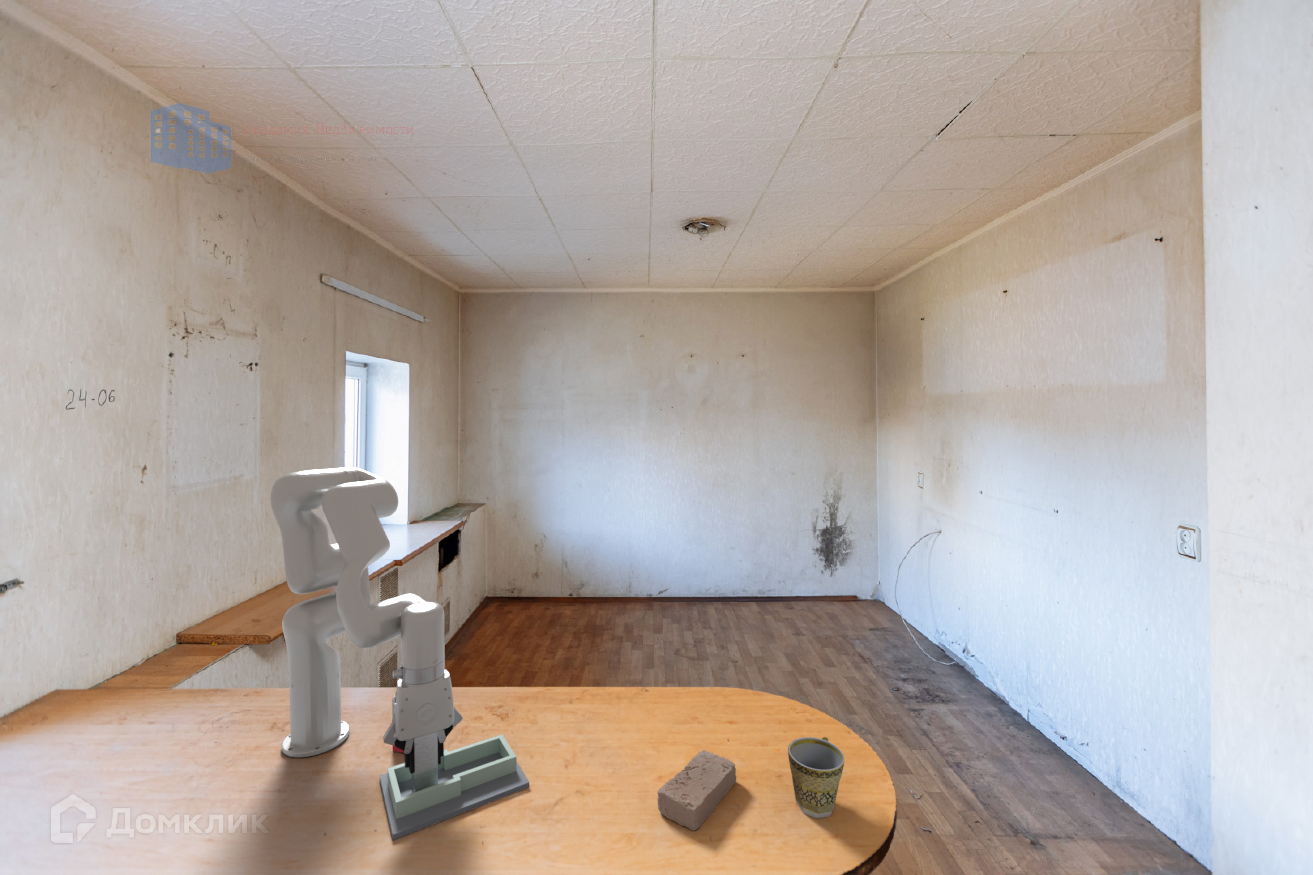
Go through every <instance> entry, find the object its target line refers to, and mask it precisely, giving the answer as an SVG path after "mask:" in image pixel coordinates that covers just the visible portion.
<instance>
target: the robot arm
mask: <svg viewBox="0 0 1313 875" xmlns="http://www.w3.org/2000/svg"><path fill="white" fill-rule="evenodd" d="M270 506H271V509H272V513H273V515H274V518H275V520H276V522H277V524H278V527H279V530H280V534H281V539H282V540H281V542H282V550H283V551H282V552H283V561H284V562H283V563H284V571H285V578H286V584H287V586H288V588H289V590H290V592H292V593H294V594H297V595H306V594H311V593H315V592H319V591H323V590H327V589H330V588H334V587H336V591H335V592H330V593H327V594H326V593H325V594H322V595H319V596H316V597H312V598H309V599H306V600H303V601H301V602H300V601H299V602H298V603H296V604H293V606H291V607H290V608H288V609H287V610H286V612H285V613H284V615H283V617H282V621H281V624H282V625H281V626H282V633H283V636H284V641H285V644H286V645H285V646H286V649H287V659H288V679H289V680H288V682H289V685H288V686H289V721H290V723H289V724H290V725H289V726H290V727H289V728H290V732H289V734H288V735H287V736H286V737H285V738H284V740H283V741H282V743H281V750H282V753H283V754H284V755H285V756H288V757H290V758H308V757H312V756H318V755H321V754H323V753H326V752H329V751H331V750H333V749H334V748H336V747H338V746H339V745H341V744H342V743H343V742H344V741H345V740H346V739H347V738H348V737H349V734H350V724H349V723H348V722H346V720H345V721H344V720H342V688H341V687H342V686H341V684H342V683H341V677H342V676H341V657H340V655H339V652H338V650H336V649H335V647H333V646H332V645H330V643H329V641H330V639H333V638H336V637H337V636H340V635H342V634H347V636H348V638H349V639H350V641H351V642H352V643H353V644H354V645H355V646H357V647H358V648H361V649H371V648H374V647H378V646H379V645H382V644H384V643H387V642H389V641H392V640H395V639H397V638H400V662H401V663H400V666H399V667H398V668H397V669H396V670H392V679H398V680H397V684H396V688H395V694H394V695H395V704H394V720H393V721H392V720H391V723H390V725H389V726H388V728H387V729H386V731H385V733H384V734H383V736H382V740H383V743H384V744H387V745H390V746H393V745H394V746H396V747H397V748H399V749H401V750H402V751H404V753H403V755H404V756H403V757H404V759H403V760H404V762H403V763H405V768H408V767H409V771H410V774H412V773H414V751H413V747H412V744H413V739H414V738H418V737H421V736H424V735H428V734H431V733H434V732H437V733H438V765H439V764H441V757H442V756H444V750H445V748H444V747H445V746H444V743H445V742H446V740H447V737H448V736H449V735H450V733H451V732H452V731H453V729H454V728H455V727H457V725H459V723H461V722H462V720H463V716H462V714H461V713H460V712H459V710H458V709H457V708H456V707H455V706H454V705H455V704H454V694H453V687H452V678H451V676H450V672H449V671H448V670H447V669H446V668H445V667H446V664H445V662H446V661H445V660H446V659H445V658H446V655H445V652H446V651H445V650H446V649H445V610H444V607H443V606H442V604H440V603H438V602H436V601H435V602H434V601H427V600H426V599H424V598H423V597H422V596H420V595H419V594H416V593H413V592H409V593H404V594H400V595H397V596H394V597H391V598H390V597H389V598H387V599H385V600H384V599H383V600H382V601H379V602H375V603H372V594H371V585H370V574H369V567H370V566H371V565H372V564H374V563H375V562H377V561H378V560H380V559H381V558H382V557H383V556H384V555H385V554H387V552H388V551H389V549H390V546H391V543H390V540H389V538H388V536H387V534H386V531H385V529H384V527H383V525H382V523H381V520H380V519H383V518H387V517H390V516H392V515H393V514H394V513H395V512H397V509H398V506H399V496H398V493H397V491H396V489H395V487H394V486H393V485H392V484H391V483H390V482H389V481H387V480H386V479H385V478H383V477H381V476H379V475H377V474H374V473H372V472H369V471H366V470H364V469H362V468H358V467H351V466H348V467H347V466H345V467H335V468H321V469H319V468H317V469H308V470H299V471H294V472H289V473H286V474H284V475H282V476H280V477H278V478H277V479H276V480H275V482H274V483H273V485H272V487H271V491H270ZM316 509H322V511H323V513H324V516H325V517H326V520H327V522H328V525H329V527H330V529H331V531H332V534H333V537H334V539H335V541H336V543H330V539H329V531H328V529H329V528H328V525H327V523H326V522H325V520H324V519H323V518H322V517H321V516H320V515H319V514H318V513H317V512H316V511H314V510H316ZM395 733H396V736H395Z"/></svg>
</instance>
